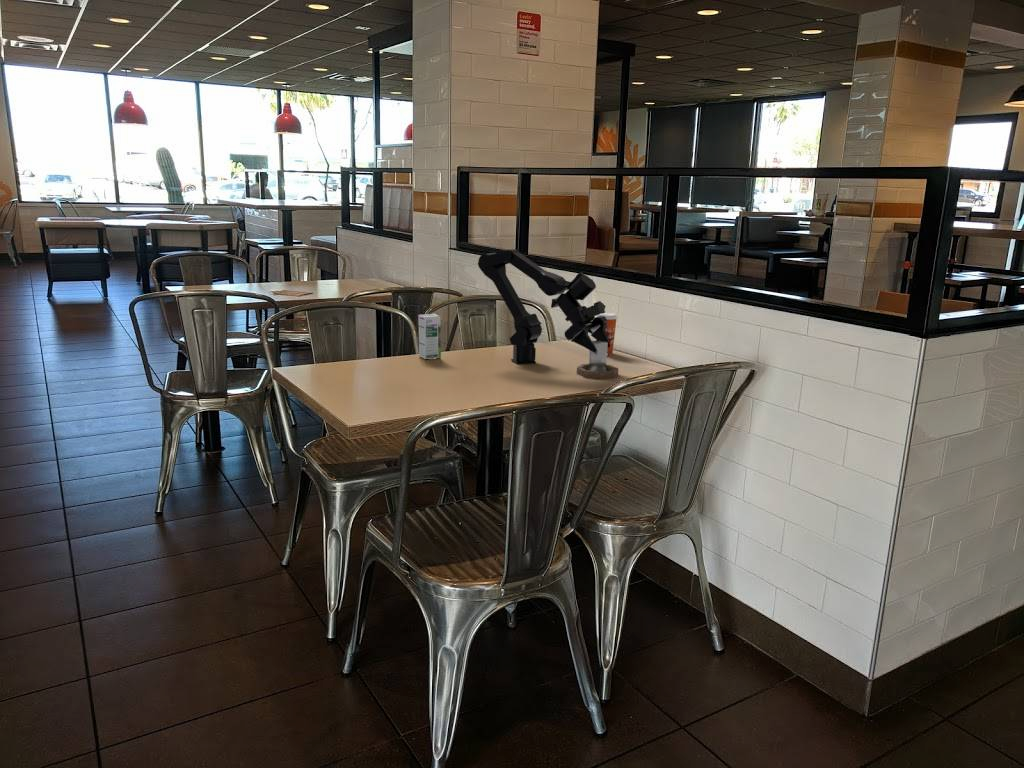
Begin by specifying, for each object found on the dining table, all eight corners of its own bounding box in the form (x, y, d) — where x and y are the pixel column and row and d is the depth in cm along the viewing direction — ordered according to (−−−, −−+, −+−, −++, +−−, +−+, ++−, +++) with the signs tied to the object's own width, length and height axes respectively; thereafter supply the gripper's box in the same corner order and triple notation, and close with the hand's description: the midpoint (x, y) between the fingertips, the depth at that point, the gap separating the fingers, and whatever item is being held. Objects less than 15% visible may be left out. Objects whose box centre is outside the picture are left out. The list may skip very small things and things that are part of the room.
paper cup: (608, 356, 263) (610, 316, 260) (589, 353, 268) (591, 313, 264) (619, 353, 269) (621, 313, 266) (600, 350, 274) (602, 311, 270)
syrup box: (425, 360, 251) (424, 316, 247) (418, 356, 256) (418, 313, 252) (441, 359, 253) (441, 315, 250) (434, 355, 258) (434, 313, 255)
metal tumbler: (589, 375, 235) (590, 343, 232) (587, 371, 240) (588, 340, 238) (607, 376, 235) (608, 344, 232) (604, 372, 240) (606, 340, 238)
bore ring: (588, 379, 230) (588, 373, 229) (571, 371, 241) (572, 364, 240) (623, 377, 234) (624, 370, 233) (605, 368, 245) (605, 362, 244)
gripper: (575, 296, 226) (606, 337, 223) (603, 290, 241) (633, 329, 238) (551, 319, 232) (581, 360, 229) (580, 312, 247) (609, 350, 244)
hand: (602, 349), depth 235 cm, fingers open, 9 cm apart
